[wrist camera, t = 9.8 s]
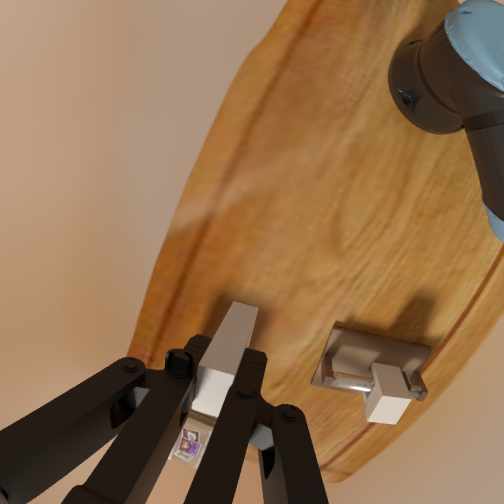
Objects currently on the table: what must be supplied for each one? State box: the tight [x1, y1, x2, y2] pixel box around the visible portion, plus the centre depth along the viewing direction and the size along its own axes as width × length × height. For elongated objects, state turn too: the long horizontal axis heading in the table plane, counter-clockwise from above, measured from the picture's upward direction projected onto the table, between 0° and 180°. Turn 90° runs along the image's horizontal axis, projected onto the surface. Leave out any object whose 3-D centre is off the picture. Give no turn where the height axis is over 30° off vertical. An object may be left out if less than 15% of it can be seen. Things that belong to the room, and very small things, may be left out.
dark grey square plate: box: [401, 371, 411, 391], centre depth 43 cm, size 5×1×5 cm, turn 168°
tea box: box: [168, 405, 218, 471], centre depth 50 cm, size 15×10×15 cm
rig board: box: [311, 326, 432, 402], centre depth 46 cm, size 12×19×7 cm, turn 78°
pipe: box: [330, 371, 421, 399], centre depth 44 cm, size 3×16×3 cm, turn 78°
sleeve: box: [362, 362, 411, 424], centre depth 42 cm, size 5×5×9 cm
